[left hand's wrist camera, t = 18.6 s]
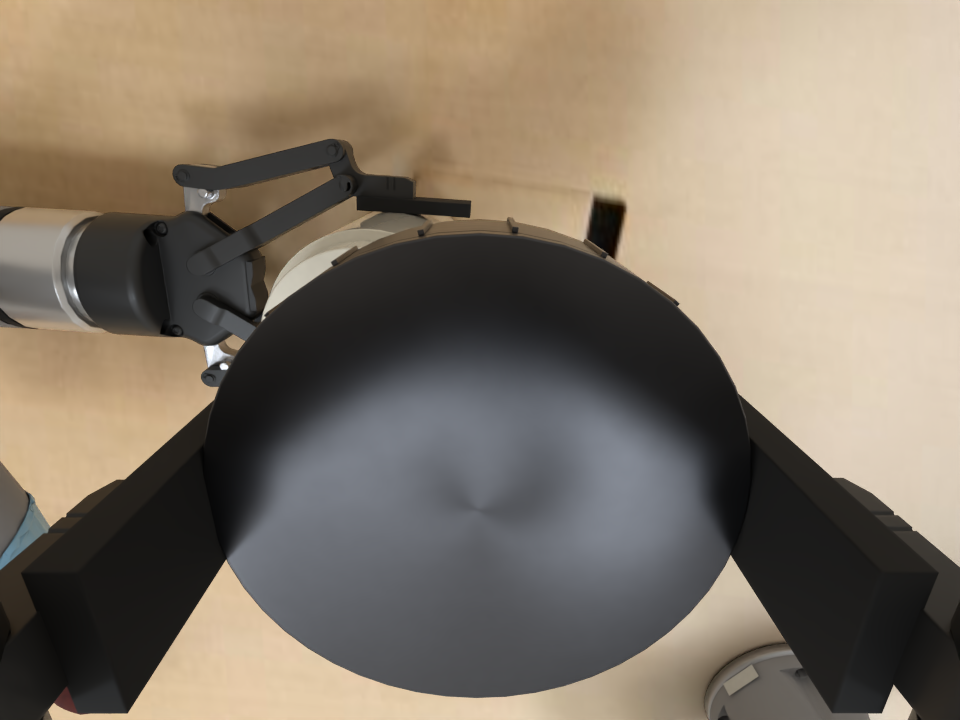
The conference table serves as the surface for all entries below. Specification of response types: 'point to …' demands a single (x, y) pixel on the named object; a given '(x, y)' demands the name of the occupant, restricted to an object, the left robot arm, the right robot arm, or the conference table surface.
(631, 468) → the lid
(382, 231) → the jar
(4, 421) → the conference table surface
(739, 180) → the conference table surface
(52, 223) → the right robot arm
